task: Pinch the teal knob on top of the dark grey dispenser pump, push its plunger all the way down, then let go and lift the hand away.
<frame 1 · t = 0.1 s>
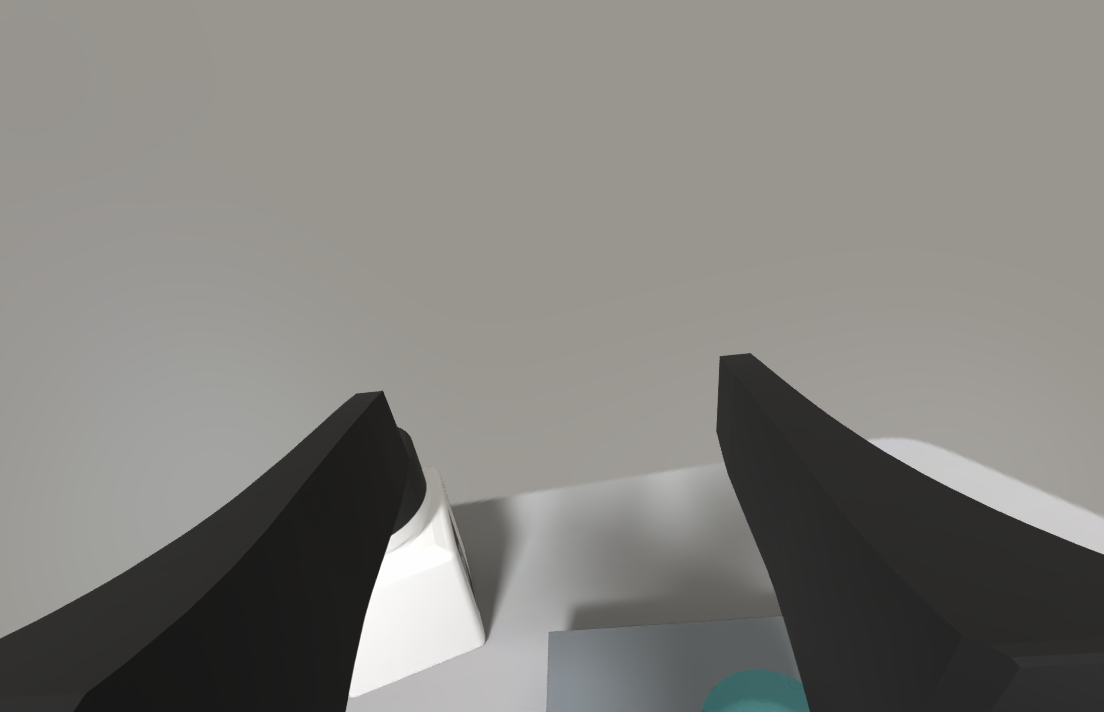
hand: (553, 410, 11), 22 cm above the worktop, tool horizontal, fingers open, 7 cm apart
container: (415, 617, 33), on the worktop
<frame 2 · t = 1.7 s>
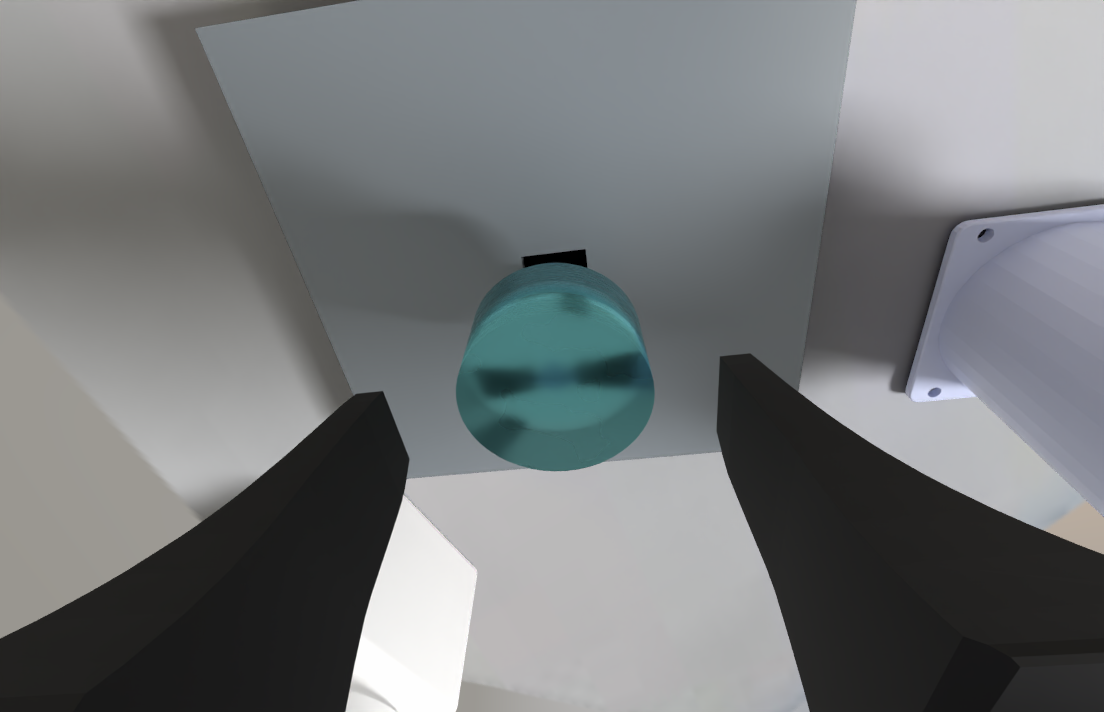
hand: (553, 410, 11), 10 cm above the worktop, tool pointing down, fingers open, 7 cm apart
container: (387, 547, 30), on the worktop
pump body: (558, 241, 20), on the worktop
plunger: (556, 328, 14), point 6 cm above the worktop, slide at 0.0 cm
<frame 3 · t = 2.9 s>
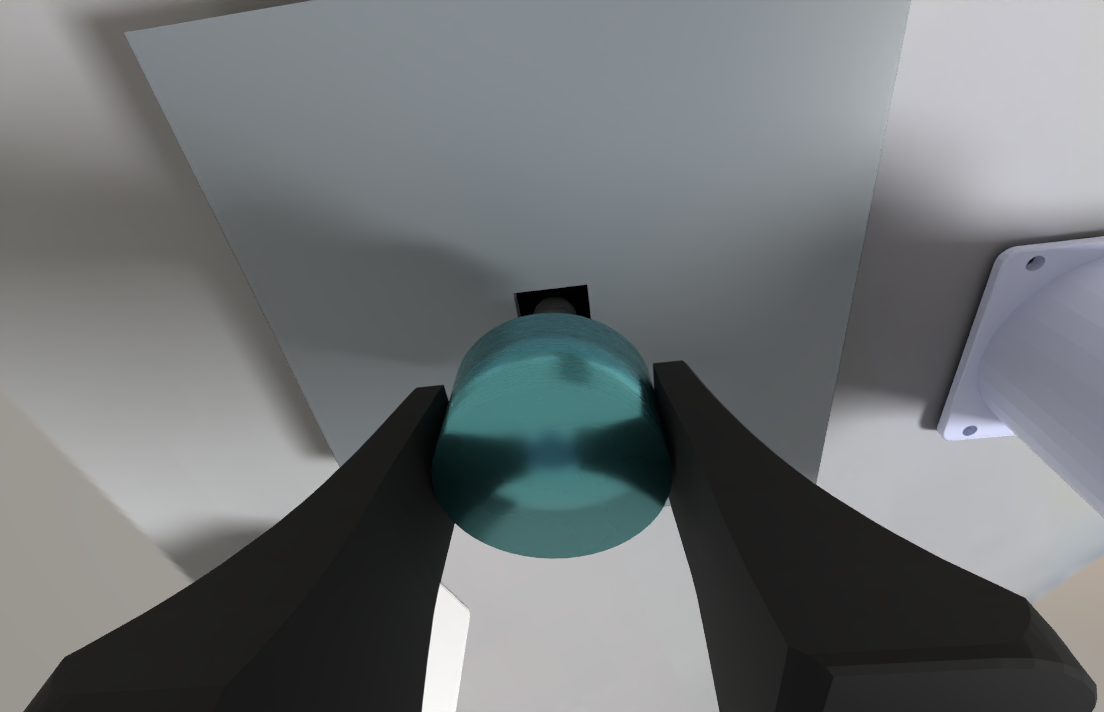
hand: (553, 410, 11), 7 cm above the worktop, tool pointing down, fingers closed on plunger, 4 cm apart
container: (373, 587, 28), on the worktop
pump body: (555, 268, 18), on the worktop
plunger: (553, 382, 12), point 6 cm above the worktop, slide at 0.0 cm, touching gripper
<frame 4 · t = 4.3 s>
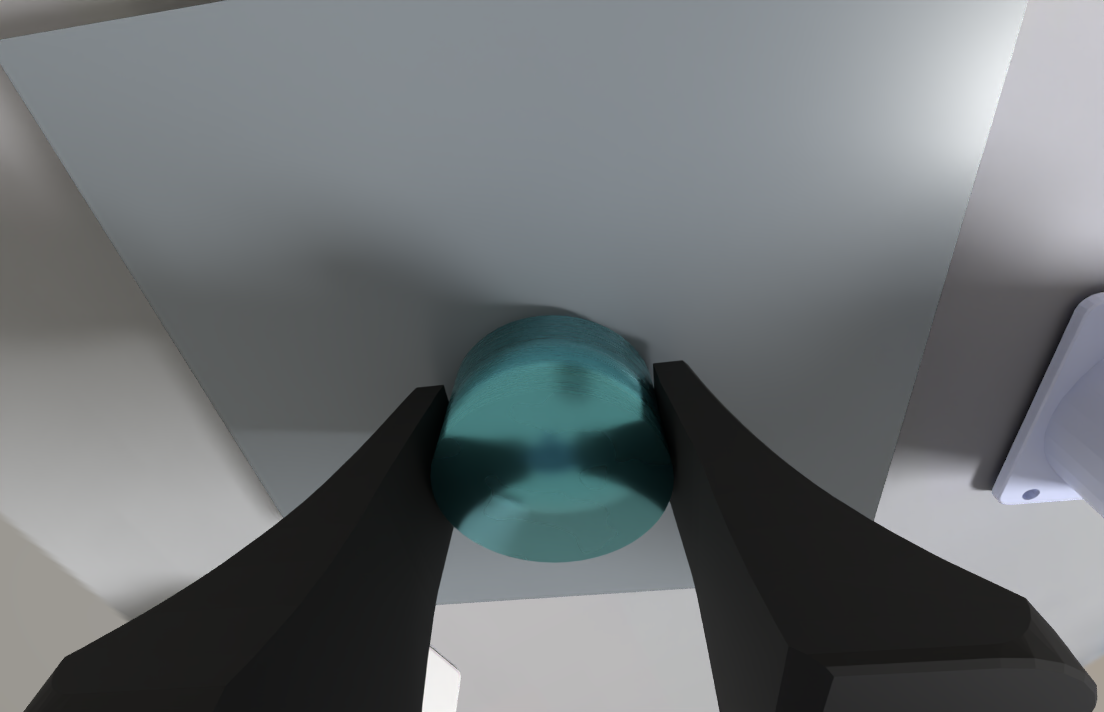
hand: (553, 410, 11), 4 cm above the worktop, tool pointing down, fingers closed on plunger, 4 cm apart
container: (354, 647, 26), on the worktop
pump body: (555, 315, 15), on the worktop
plunger: (553, 384, 12), point 3 cm above the worktop, slide at 3.1 cm, touching gripper
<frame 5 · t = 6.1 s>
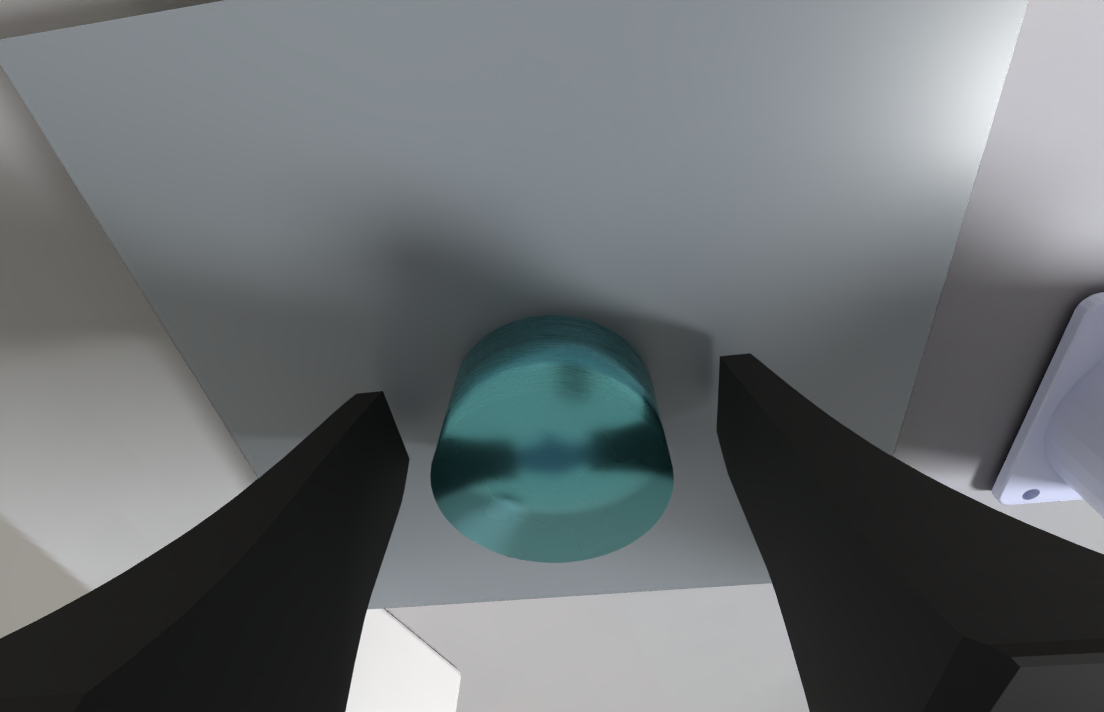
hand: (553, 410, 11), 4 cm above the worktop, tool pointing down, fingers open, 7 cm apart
container: (354, 647, 26), on the worktop
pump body: (555, 315, 15), on the worktop
plunger: (553, 384, 12), point 3 cm above the worktop, slide at 3.1 cm
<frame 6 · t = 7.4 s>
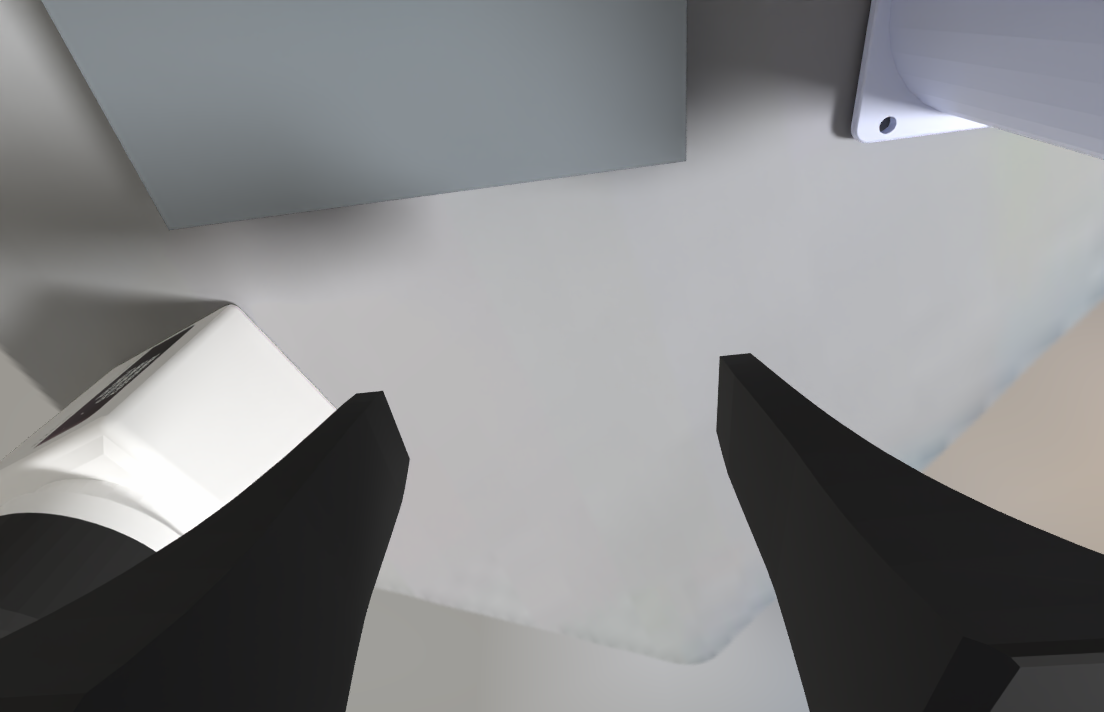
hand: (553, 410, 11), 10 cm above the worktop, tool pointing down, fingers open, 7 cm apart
container: (240, 394, 25), on the worktop
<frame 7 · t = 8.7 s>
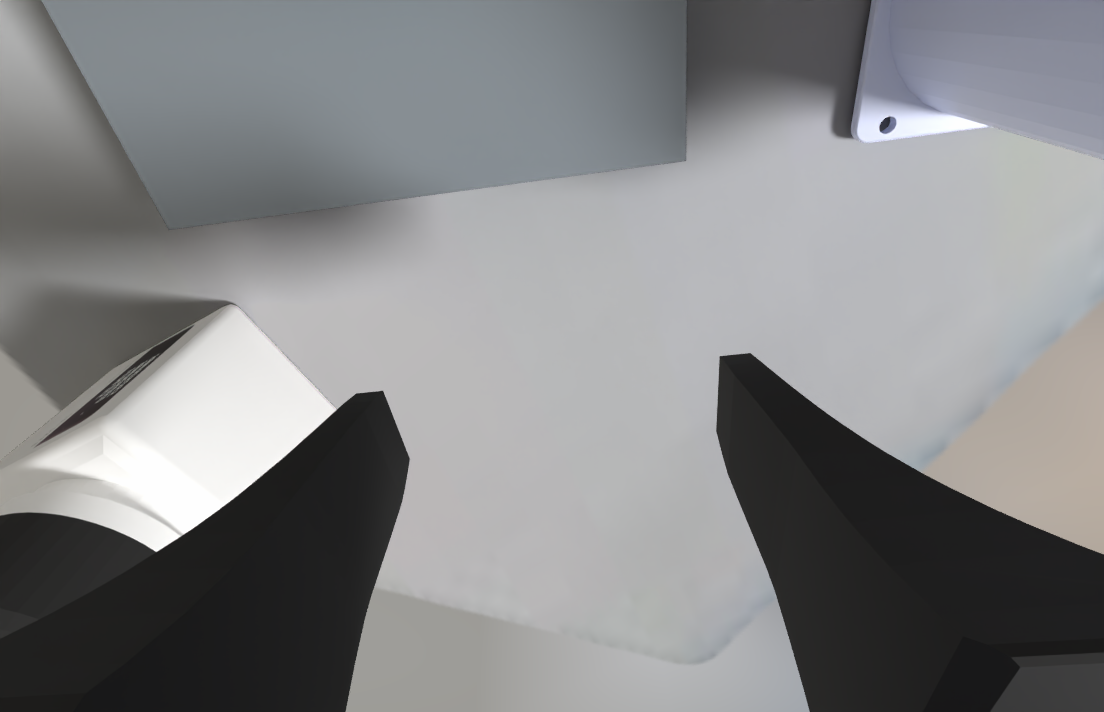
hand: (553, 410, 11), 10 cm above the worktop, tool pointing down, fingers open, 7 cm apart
container: (240, 394, 25), on the worktop
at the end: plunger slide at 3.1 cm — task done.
